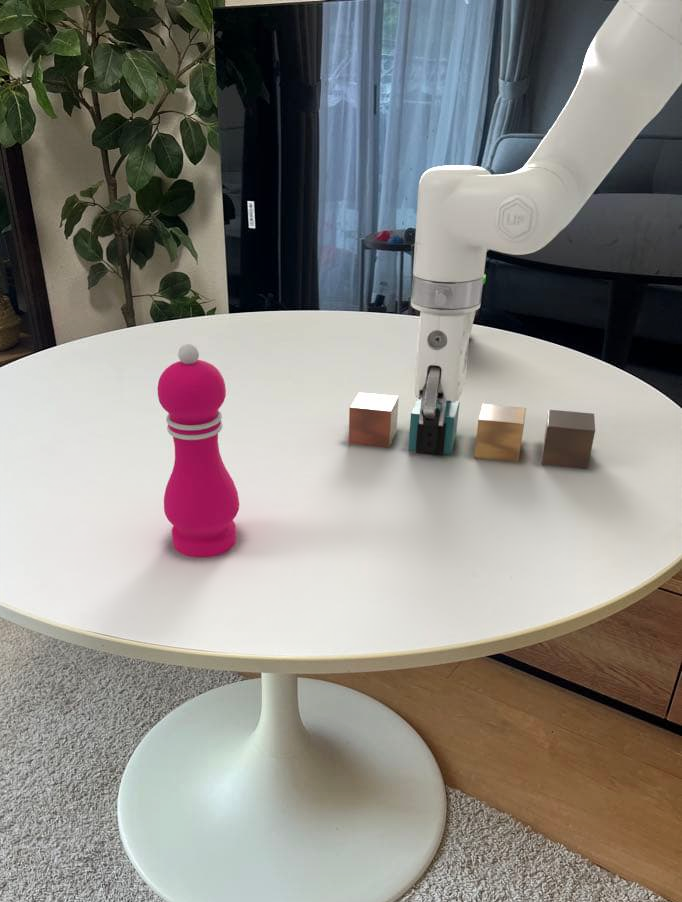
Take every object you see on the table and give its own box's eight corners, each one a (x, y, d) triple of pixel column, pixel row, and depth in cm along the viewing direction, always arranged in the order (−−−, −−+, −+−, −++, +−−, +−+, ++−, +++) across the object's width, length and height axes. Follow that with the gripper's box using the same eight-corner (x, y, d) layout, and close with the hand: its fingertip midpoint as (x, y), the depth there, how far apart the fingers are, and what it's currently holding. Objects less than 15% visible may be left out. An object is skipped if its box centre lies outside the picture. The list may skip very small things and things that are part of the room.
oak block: (520, 446, 95) (526, 407, 92) (518, 464, 91) (524, 424, 88) (477, 442, 96) (482, 403, 93) (473, 459, 92) (478, 419, 89)
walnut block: (586, 453, 93) (594, 413, 90) (587, 471, 89) (595, 430, 86) (542, 448, 94) (548, 409, 91) (540, 466, 90) (547, 426, 87)
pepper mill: (248, 526, 80) (238, 332, 70) (232, 565, 74) (218, 359, 64) (180, 521, 81) (160, 330, 71) (158, 559, 75) (133, 356, 65)
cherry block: (396, 433, 99) (398, 395, 96) (389, 450, 95) (391, 411, 92) (357, 429, 100) (358, 392, 97) (348, 445, 96) (349, 407, 93)
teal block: (455, 440, 97) (459, 401, 94) (450, 457, 93) (454, 417, 90) (415, 435, 98) (417, 397, 95) (408, 452, 94) (410, 413, 91)
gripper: (473, 315, 78) (455, 479, 87) (488, 275, 92) (471, 420, 101) (398, 311, 80) (388, 471, 89) (424, 271, 94) (413, 414, 103)
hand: (432, 442), depth 95 cm, fingers closed on teal block, 4 cm apart
